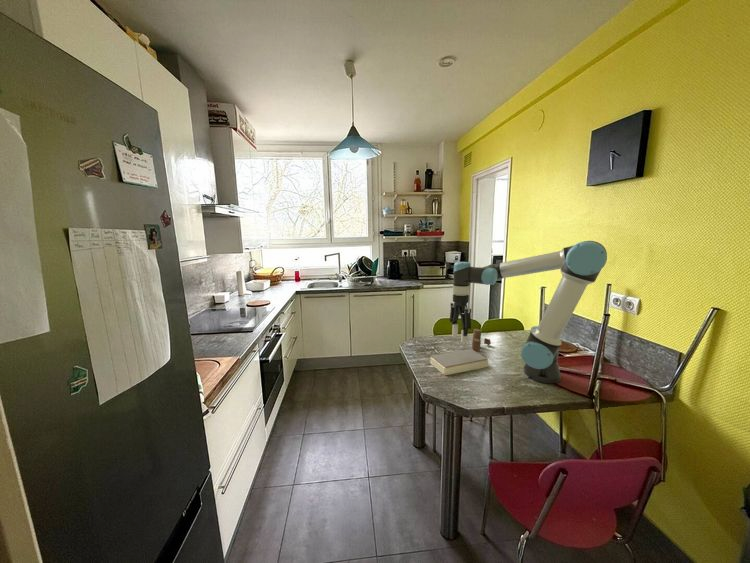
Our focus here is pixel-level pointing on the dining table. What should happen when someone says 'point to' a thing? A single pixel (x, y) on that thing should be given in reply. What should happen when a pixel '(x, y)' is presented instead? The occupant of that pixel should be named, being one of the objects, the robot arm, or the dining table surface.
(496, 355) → the dining table surface
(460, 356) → the two-tone flat slab
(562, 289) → the robot arm
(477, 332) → the wooden block set
